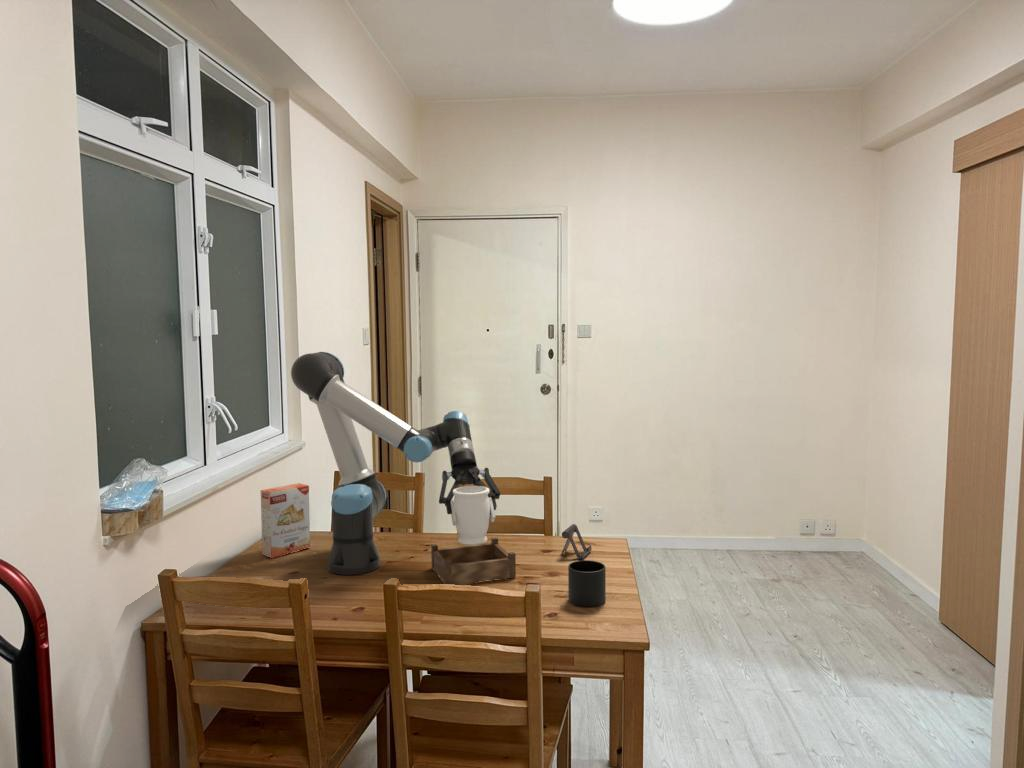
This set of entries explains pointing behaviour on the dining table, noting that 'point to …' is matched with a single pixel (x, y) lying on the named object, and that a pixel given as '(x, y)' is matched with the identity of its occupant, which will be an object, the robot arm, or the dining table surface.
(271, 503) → the cracker box
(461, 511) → the jar
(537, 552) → the dining table surface
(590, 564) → the mug
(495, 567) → the crate
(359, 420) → the robot arm
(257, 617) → the dining table surface
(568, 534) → the portable electronic device stand
